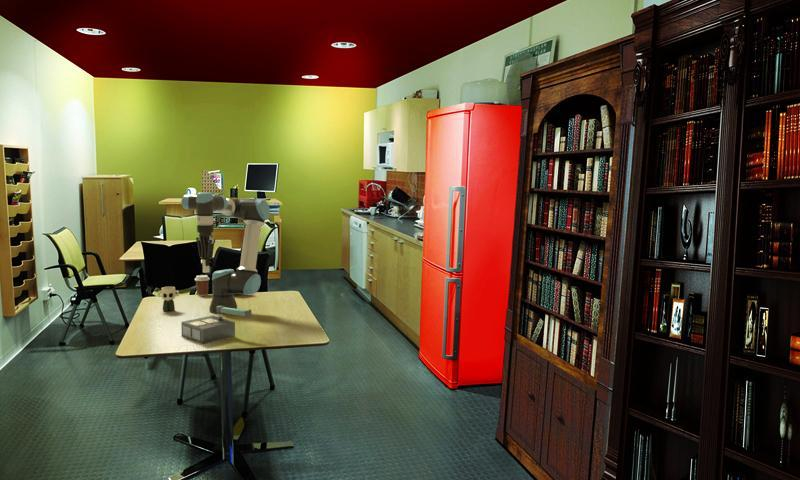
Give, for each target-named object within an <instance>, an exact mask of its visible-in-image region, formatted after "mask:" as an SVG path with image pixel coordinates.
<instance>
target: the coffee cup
mask: <svg viewBox="0 0 800 480" xmlns="http://www.w3.org/2000/svg"><path fill="white" fill-rule="evenodd" d="M210 280H211V279H210V277H209V276H208V275H207V274H200V275H196V277H195V278H194V281H195V286H196V287H195V288H196V296H199V297H200V296H202V297H203V296H208V293H209V283H210V282H209V281H210Z"/></svg>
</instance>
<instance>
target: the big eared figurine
mask: <svg viewBox="0 0 800 480" xmlns="http://www.w3.org/2000/svg"><path fill="white" fill-rule="evenodd" d="M179 296H180V291H179V290H176V287H175V286H164V287H161V290H159V291H157V297H158V298H161V299H162V300H163V301H162V302H163V305H162V310H163V311H165V312H167V311H169V312H172V311H174V310H175V309H176V307H175V306H176V305H175V302H174V300H175V298H176V297H179Z"/></svg>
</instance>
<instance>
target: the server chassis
mask: <svg viewBox="0 0 800 480" xmlns="http://www.w3.org/2000/svg"><path fill="white" fill-rule="evenodd" d="M223 317H224V315H223V313H217V316H216V315H209V316H204V317H200V318H193V319H189V320H184V321H181V337H182V338H185V339H189V340H191V341H193V342H197V343H200V344H202V345H205V344H208V343H213V342H219V341H221V340H226V339H230V338H233V337H234V338H235V337H236V322H235V321H232V320H229V319H227V318H226V319H225V318H223Z"/></svg>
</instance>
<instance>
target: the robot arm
mask: <svg viewBox="0 0 800 480" xmlns="http://www.w3.org/2000/svg"><path fill="white" fill-rule="evenodd" d="M180 203H181V206H182V208H183V209H184V210H188V211H190V210H191V211H193V210H194V211H196V224H197V226H196V231H197V232H196V233H199V234H198V236H197V237H196V238H195V240H196V244H197V249H198V256H199V258H201V261H202V262H201V263H202V273H203V274H204V273H205V274H207V273H210V266H211V265H210V264H211V263H210V260H211V259H213V258H214V257H213V255H214V248H215V243H216V239H213V236H212V233H214V213H215V214H216V213H217V214H222V215H223V216H226V217H232V218H236V219H240V220H241V219H243V223H244V224H245V228H244V234H243V241H242V247H241V248H242V249H241V256H240V263H239V266H238V267H237V268H236V271H235V270H234V269H232V268H228V269H227V268H226V269H221V270H216V271H214V272H213V273H212V278H211V282H212V298H211V302H210V305H209V310H208V311H209V313H211V314H218V313H217V306H224V307H227V308H234V309H238V304H237V301H236V299H235V295H234V293H235V294H244V295H245V296H248V295H251V296H252V295H255V294H256V293H257V292H259V289H260V286H261V283H262V280H261V278H262V277H261V275H260V274H258V273H259V272H258V270H257V260H258V253H259V252H258V251H259V247H260V246H259V245H260V239H261V238H260V237H261V231H262V227H263V226H264V225H265V222H266V221H268V220H269V219H270V215H271V210H270V209H271V208H270V206H269V203H268V201H266V199H260V198H226V196H224V195H220V194H219V195H214V194H213V193H212V192H208V191H207V192H206V191H205V192H200V191H199V192H197V193H196V194H184V195H183V196H182V197H181V201H180ZM223 314H225V313H223Z"/></svg>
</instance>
